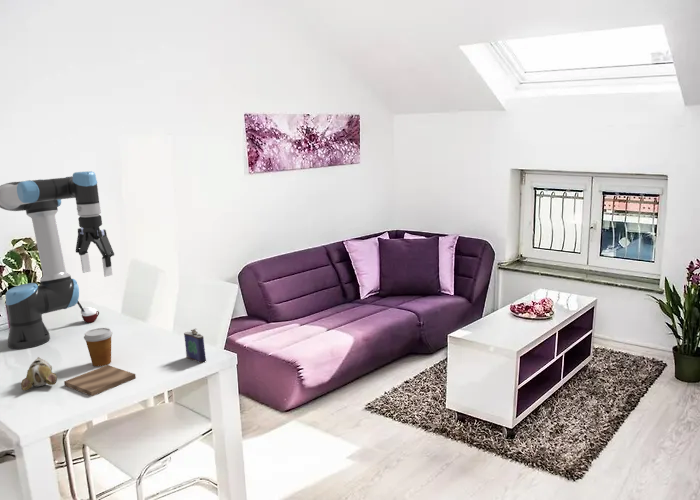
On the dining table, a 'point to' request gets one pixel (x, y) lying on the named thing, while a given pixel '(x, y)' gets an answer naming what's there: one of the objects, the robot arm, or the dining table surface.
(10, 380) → the dining table surface
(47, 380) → the ceramic sculpture
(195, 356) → the flask
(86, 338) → the disposable coffee cup
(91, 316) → the cocoa
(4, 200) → the robot arm
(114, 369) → the walnut board
